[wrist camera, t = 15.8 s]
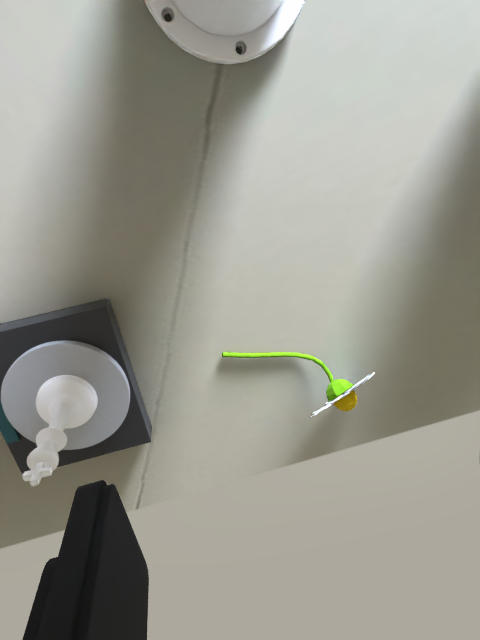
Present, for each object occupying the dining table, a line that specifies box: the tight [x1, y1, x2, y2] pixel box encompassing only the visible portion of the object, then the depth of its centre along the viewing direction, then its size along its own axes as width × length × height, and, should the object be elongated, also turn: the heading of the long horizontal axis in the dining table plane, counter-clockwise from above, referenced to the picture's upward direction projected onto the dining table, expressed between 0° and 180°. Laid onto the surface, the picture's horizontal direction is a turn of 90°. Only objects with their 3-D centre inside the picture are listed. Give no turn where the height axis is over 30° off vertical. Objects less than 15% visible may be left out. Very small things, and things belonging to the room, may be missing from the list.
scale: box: [0, 299, 152, 474], centre depth 36 cm, size 14×12×3 cm
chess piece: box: [22, 375, 98, 486], centre depth 30 cm, size 5×5×10 cm
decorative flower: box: [222, 352, 375, 418], centre depth 40 cm, size 8×6×15 cm
